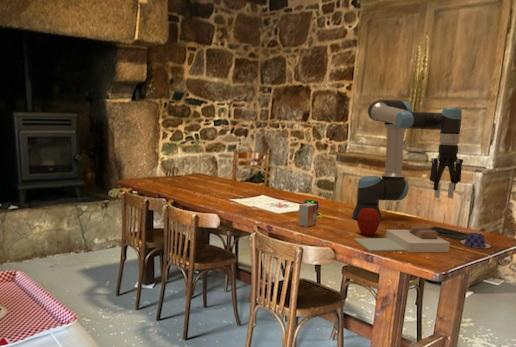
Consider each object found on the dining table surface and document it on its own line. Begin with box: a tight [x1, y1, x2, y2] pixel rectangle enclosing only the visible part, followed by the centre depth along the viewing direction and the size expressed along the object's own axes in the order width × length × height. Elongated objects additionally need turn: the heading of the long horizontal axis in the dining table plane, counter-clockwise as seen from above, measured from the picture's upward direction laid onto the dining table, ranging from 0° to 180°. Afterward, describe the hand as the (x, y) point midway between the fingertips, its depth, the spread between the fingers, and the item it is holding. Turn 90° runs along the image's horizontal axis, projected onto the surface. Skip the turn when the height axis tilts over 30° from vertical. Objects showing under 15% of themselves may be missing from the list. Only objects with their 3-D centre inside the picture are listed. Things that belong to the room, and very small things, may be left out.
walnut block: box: [409, 225, 438, 239], centre depth 173 cm, size 10×7×3 cm
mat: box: [353, 237, 407, 252], centre depth 170 cm, size 16×16×1 cm
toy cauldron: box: [300, 194, 323, 219], centre depth 223 cm, size 15×15×11 cm
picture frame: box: [429, 225, 470, 241], centre depth 193 cm, size 13×2×18 cm
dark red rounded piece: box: [357, 206, 381, 236], centre depth 186 cm, size 10×10×14 cm
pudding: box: [459, 232, 492, 249], centre depth 177 cm, size 12×12×5 cm
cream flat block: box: [385, 229, 451, 253], centre depth 173 cm, size 20×18×4 cm
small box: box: [297, 203, 318, 228], centre depth 200 cm, size 8×6×10 cm
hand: (443, 197), depth 172 cm, fingers open, 6 cm apart
